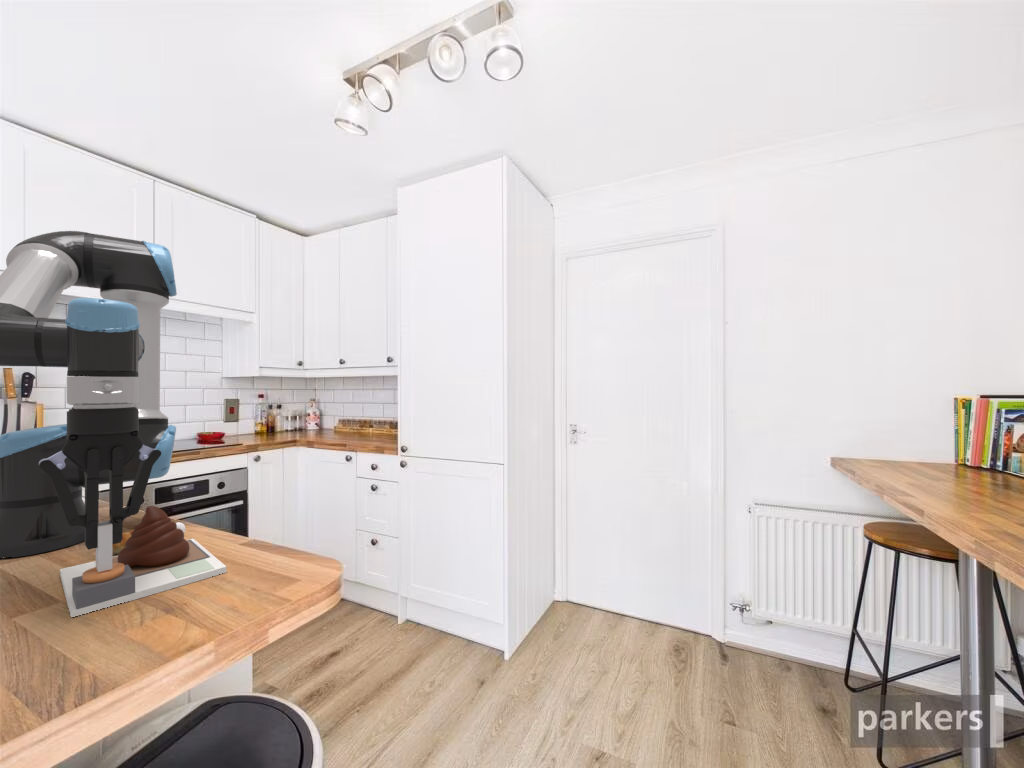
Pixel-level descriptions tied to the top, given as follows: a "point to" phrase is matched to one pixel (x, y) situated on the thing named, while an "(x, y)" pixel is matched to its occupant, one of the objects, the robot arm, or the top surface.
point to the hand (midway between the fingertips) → (103, 567)
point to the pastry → (119, 546)
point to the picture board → (136, 580)
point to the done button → (103, 574)
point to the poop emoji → (155, 541)
